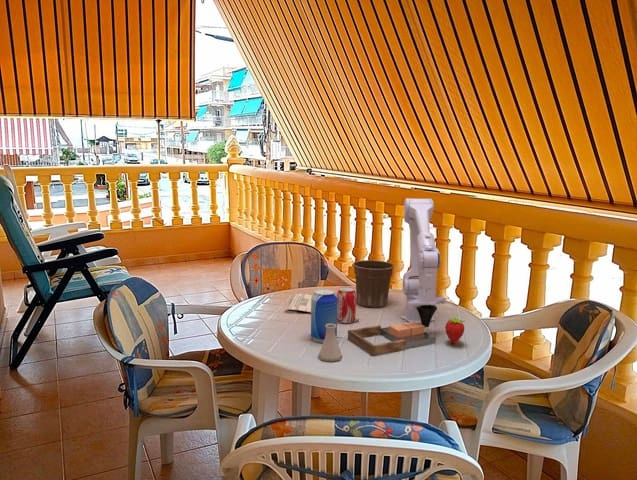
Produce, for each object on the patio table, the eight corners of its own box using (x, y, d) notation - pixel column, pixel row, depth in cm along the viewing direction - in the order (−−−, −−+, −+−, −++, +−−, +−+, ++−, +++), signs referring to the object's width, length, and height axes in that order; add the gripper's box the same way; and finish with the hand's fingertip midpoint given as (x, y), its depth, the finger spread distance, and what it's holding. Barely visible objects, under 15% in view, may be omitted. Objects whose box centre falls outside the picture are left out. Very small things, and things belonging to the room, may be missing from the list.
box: (378, 333, 172) (379, 325, 171) (405, 349, 158) (405, 340, 158) (347, 339, 166) (348, 330, 166) (372, 356, 153) (372, 346, 153)
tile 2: (414, 328, 172) (415, 321, 171) (424, 333, 167) (424, 326, 167) (402, 330, 169) (403, 323, 169) (411, 335, 165) (412, 328, 165)
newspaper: (289, 297, 213) (289, 291, 213) (318, 301, 212) (318, 295, 212) (279, 314, 191) (280, 308, 190) (311, 319, 190) (312, 312, 189)
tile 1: (401, 330, 169) (401, 323, 169) (410, 335, 165) (410, 328, 164) (388, 332, 167) (389, 325, 167) (397, 337, 163) (398, 330, 162)
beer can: (318, 345, 161) (318, 296, 158) (306, 336, 168) (306, 289, 165) (341, 341, 165) (342, 293, 162) (328, 332, 172) (329, 286, 169)
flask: (317, 352, 155) (317, 321, 153) (340, 352, 156) (341, 321, 154) (318, 362, 148) (319, 329, 146) (343, 362, 149) (344, 329, 147)
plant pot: (370, 295, 216) (371, 257, 213) (400, 304, 204) (402, 264, 201) (343, 302, 205) (344, 263, 202) (373, 312, 193) (375, 271, 190)
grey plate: (409, 329, 176) (409, 323, 176) (435, 343, 164) (435, 337, 164) (379, 334, 171) (379, 328, 171) (404, 349, 159) (404, 343, 158)
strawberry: (461, 340, 167) (463, 310, 165) (464, 349, 160) (467, 318, 158) (443, 339, 168) (445, 309, 166) (445, 347, 160) (447, 317, 159)
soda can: (354, 325, 179) (355, 292, 177) (334, 323, 181) (335, 290, 179) (356, 318, 186) (357, 286, 184) (337, 317, 188) (338, 285, 185)
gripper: (417, 292, 161) (414, 333, 164) (452, 287, 167) (450, 327, 170) (403, 286, 167) (401, 326, 170) (438, 282, 174) (436, 320, 176)
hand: (425, 326), depth 170 cm, fingers closed
